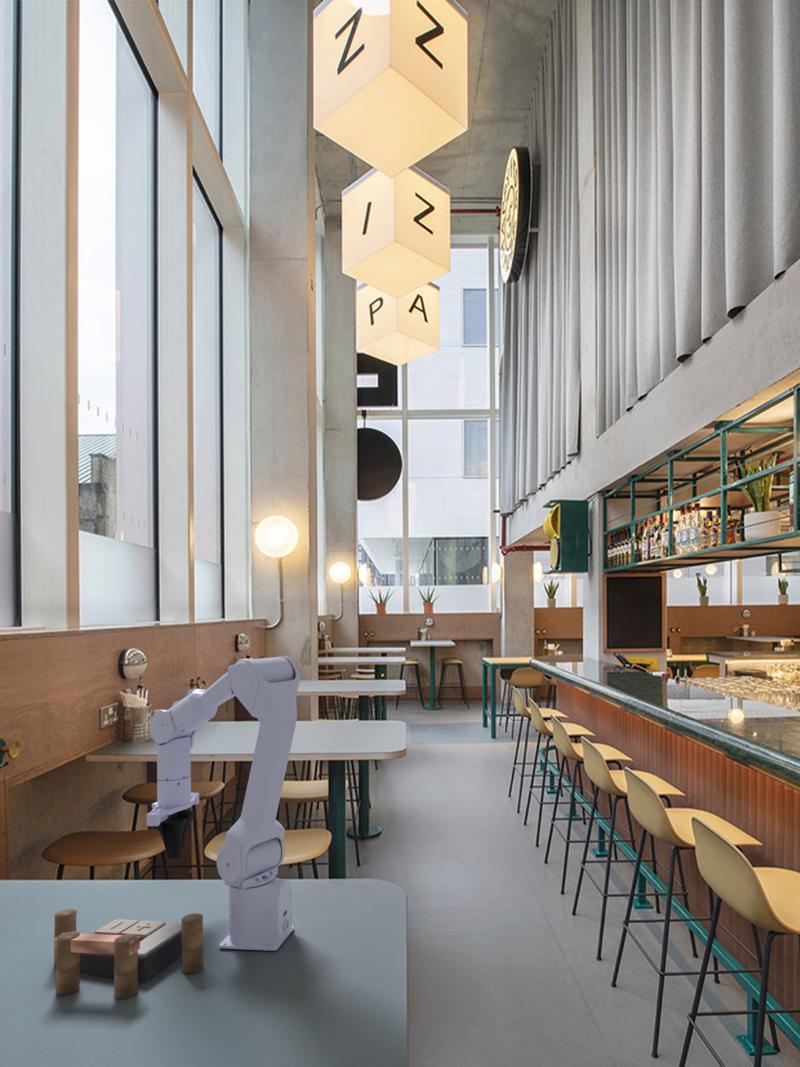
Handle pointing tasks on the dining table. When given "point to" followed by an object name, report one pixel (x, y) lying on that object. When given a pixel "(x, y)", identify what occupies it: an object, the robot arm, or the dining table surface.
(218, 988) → the dining table surface
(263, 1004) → the dining table surface
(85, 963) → the calculator
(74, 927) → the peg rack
